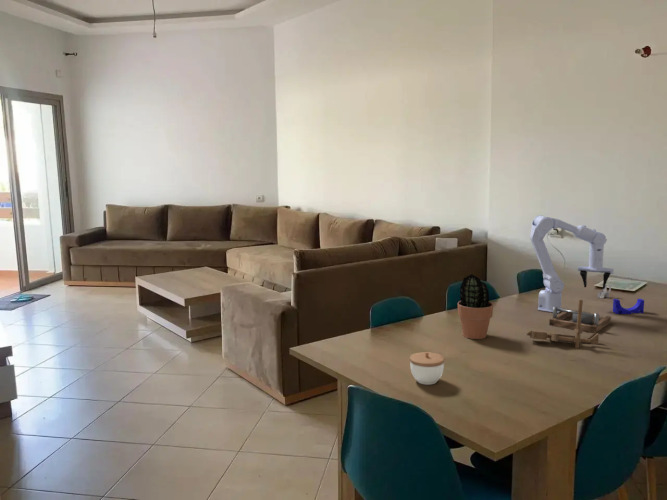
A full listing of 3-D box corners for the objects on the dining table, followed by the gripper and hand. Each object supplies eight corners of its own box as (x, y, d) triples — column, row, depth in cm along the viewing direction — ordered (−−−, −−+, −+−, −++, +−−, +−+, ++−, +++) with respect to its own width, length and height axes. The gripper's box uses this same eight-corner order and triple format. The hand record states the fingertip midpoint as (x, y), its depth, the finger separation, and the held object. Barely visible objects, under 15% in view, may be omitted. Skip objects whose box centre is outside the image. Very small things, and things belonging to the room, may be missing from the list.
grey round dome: (569, 322, 235) (569, 314, 234) (576, 318, 240) (576, 310, 240) (589, 326, 229) (589, 318, 229) (595, 322, 235) (596, 314, 234)
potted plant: (493, 341, 211) (495, 278, 208) (457, 340, 214) (458, 277, 210) (491, 331, 225) (492, 271, 221) (456, 330, 227) (457, 270, 224)
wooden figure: (605, 302, 201) (533, 294, 205) (601, 351, 199) (529, 342, 203) (593, 302, 215) (526, 295, 219) (589, 348, 213) (522, 340, 218)
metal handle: (551, 323, 234) (552, 307, 232) (553, 322, 235) (554, 306, 234) (597, 331, 221) (598, 314, 220) (598, 330, 222) (599, 313, 221)
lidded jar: (406, 375, 180) (406, 347, 179) (438, 373, 181) (439, 346, 179) (414, 388, 169) (414, 359, 168) (448, 386, 170) (448, 357, 169)
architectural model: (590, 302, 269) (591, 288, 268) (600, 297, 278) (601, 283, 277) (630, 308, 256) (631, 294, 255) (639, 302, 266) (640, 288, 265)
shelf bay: (549, 325, 232) (549, 319, 231) (566, 315, 246) (566, 309, 245) (594, 333, 219) (595, 327, 219) (610, 322, 233) (610, 316, 233)
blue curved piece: (616, 314, 246) (617, 301, 245) (612, 311, 250) (613, 298, 250) (645, 314, 245) (645, 301, 244) (640, 311, 249) (641, 298, 248)
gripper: (577, 258, 250) (575, 287, 252) (612, 260, 242) (611, 291, 244) (579, 256, 256) (578, 284, 258) (614, 258, 248) (612, 288, 250)
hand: (594, 287), depth 252 cm, fingers open, 7 cm apart
